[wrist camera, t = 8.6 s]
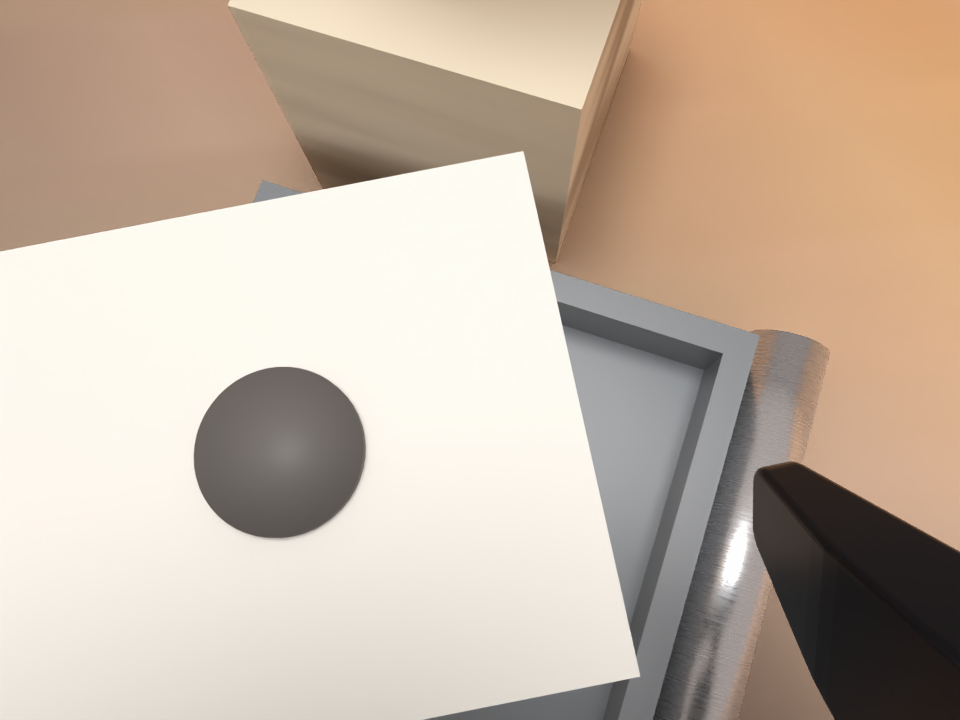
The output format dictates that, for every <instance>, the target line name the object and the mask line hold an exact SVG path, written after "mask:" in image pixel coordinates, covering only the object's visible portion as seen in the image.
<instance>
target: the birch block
mask: <svg viewBox="0 0 960 720" xmlns="http://www.w3.org/2000/svg"><path fill="white" fill-rule="evenodd" d="M641 1H642V0H230V2H229V4H228V7H229V9H230V11H231V13H232V15H233V17H234V18H235V20H236V22H237V24H238V26H239V28H240V30H241V32H242V34H243V36H244V38H245V40H246V42H247V43H248V45H249V47H250V49H251V51H252V53H253V55H254V57H255V59H256V61H257V63H258V65H259V67H260V69H261V70H262V72H263V74H264V76H265V78H266V80H267V82H268V84H269V86H270V88H271V90H272V92H273V94H274V95H275V97H276V99H277V101H278V103H279V105H280V107H281V109H282V111H283V113H284V115H285V117H286V119H287V120H288V122H289V124H290V126H291V128H292V130H293V132H294V134H295V136H296V138H297V140H298V142H299V144H300V145H301V147H302V149H303V151H304V153H305V155H306V157H307V159H308V161H309V163H310V165H311V167H312V169H313V170H314V172H315V174H316V176H317V178H318V180H319V182H320V184H321V186H322V188H323V189H329V188H334V187H339V186H344V185H349V184H355V183H360V182H365V181H370V180H375V179H380V178H386V177H391V176H396V175H401V174H406V173H412V172H417V171H422V170H427V169H432V168H438V167H443V166H448V165H453V164H458V163H464V162H469V161H474V160H479V159H484V158H490V157H495V156H500V155H505V154H510V153H516V152H521V151H523V152H524V156H525V161H526V165H527V169H528V174H529V178H530V183H531V187H532V192H533V196H534V201H535V205H536V210H537V214H538V219H539V223H540V228H541V232H542V237H543V241H544V246H545V250H546V255H547V259H548V261H550V262H554V263H556V261H557V258H558V255H559V252H560V250H561V247H562V244H563V241H564V238H565V235H566V232H567V229H568V226H569V224H570V221H571V218H572V215H573V212H574V209H575V206H576V203H577V200H578V198H579V195H580V192H581V189H582V186H583V183H584V180H585V177H586V174H587V172H588V169H589V166H590V163H591V160H592V157H593V154H594V151H595V148H596V146H597V143H598V140H599V137H600V134H601V131H602V128H603V125H604V122H605V120H606V117H607V114H608V111H609V108H610V105H611V102H612V99H613V96H614V94H615V91H616V88H617V85H618V82H619V79H620V76H621V73H622V70H623V68H624V65H625V62H626V59H627V56H628V53H629V50H630V46H631V42H632V38H633V34H634V30H635V26H636V22H637V18H638V14H639V9H640V5H641Z"/></svg>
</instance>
